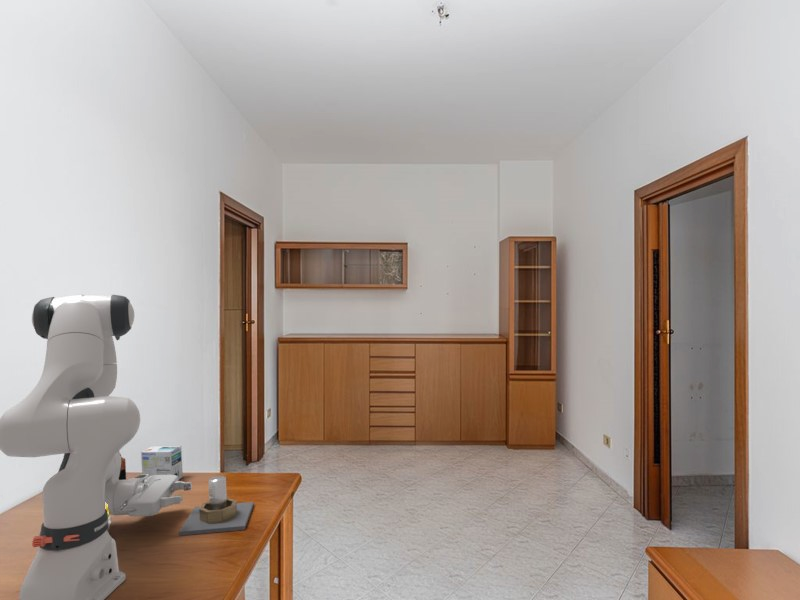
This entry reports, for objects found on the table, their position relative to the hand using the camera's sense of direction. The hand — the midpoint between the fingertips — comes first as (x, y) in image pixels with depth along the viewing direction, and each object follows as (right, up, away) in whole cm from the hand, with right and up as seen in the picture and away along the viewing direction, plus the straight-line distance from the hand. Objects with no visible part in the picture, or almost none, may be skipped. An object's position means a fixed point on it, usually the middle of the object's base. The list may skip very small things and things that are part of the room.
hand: (186, 492), depth 141 cm
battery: (-35, -9, +30) cm, 47 cm away
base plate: (+8, -8, +1) cm, 11 cm away
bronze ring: (+8, -7, +1) cm, 11 cm away
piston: (+8, -7, +1) cm, 11 cm away
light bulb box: (-21, -9, +34) cm, 41 cm away
